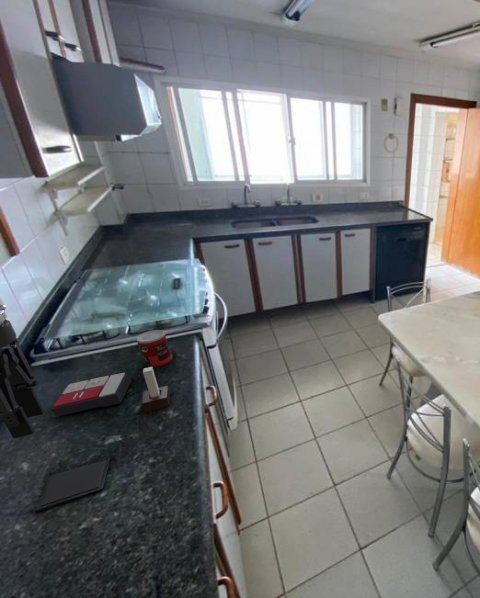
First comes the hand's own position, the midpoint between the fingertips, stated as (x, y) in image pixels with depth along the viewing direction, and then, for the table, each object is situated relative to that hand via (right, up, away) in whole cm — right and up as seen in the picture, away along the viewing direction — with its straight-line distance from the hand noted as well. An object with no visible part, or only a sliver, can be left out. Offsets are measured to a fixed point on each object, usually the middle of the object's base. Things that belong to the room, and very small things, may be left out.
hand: (29, 424), depth 67 cm
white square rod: (+3, -6, +32) cm, 32 cm away
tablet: (+2, -17, +8) cm, 19 cm away
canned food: (-10, +3, +50) cm, 51 cm away
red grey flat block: (-16, -4, +32) cm, 36 cm away
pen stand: (+3, -6, +32) cm, 32 cm away
